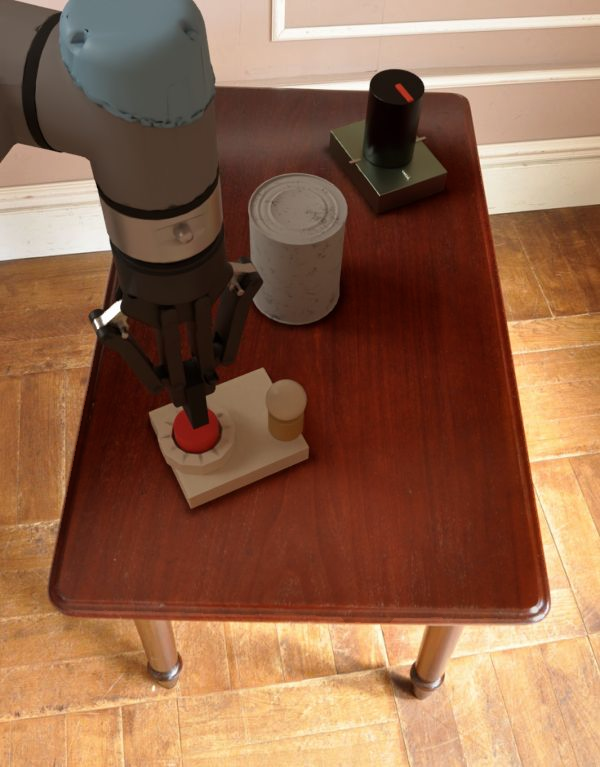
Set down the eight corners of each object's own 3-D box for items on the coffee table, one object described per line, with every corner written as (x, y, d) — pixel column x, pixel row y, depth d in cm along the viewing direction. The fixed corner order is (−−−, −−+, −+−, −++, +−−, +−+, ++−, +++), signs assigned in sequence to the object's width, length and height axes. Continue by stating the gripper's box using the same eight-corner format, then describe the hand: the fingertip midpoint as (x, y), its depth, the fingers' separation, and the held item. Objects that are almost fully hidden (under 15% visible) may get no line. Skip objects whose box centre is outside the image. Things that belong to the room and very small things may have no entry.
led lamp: (259, 418, 79) (258, 380, 74) (294, 404, 80) (295, 365, 74) (276, 449, 77) (276, 412, 72) (311, 434, 78) (314, 397, 73)
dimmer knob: (353, 141, 101) (359, 74, 93) (397, 127, 103) (407, 60, 95) (378, 174, 98) (387, 108, 90) (423, 159, 100) (435, 92, 92)
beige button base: (146, 425, 83) (141, 403, 79) (263, 379, 86) (263, 356, 83) (186, 511, 78) (182, 491, 75) (308, 458, 81) (310, 437, 78)
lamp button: (168, 425, 79) (166, 415, 77) (208, 409, 80) (207, 399, 78) (185, 459, 77) (183, 450, 75) (226, 442, 78) (225, 433, 76)
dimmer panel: (324, 151, 105) (325, 130, 102) (396, 127, 107) (400, 106, 105) (372, 216, 99) (375, 196, 96) (447, 189, 101) (452, 169, 99)
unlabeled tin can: (278, 338, 89) (278, 258, 79) (235, 276, 93) (230, 193, 83) (356, 303, 92) (366, 222, 81) (310, 244, 96) (315, 160, 86)
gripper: (88, 300, 52) (140, 478, 72) (281, 232, 56) (281, 420, 75) (50, 219, 56) (110, 409, 75) (234, 160, 59) (245, 357, 79)
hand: (195, 414), depth 75 cm, fingers closed
